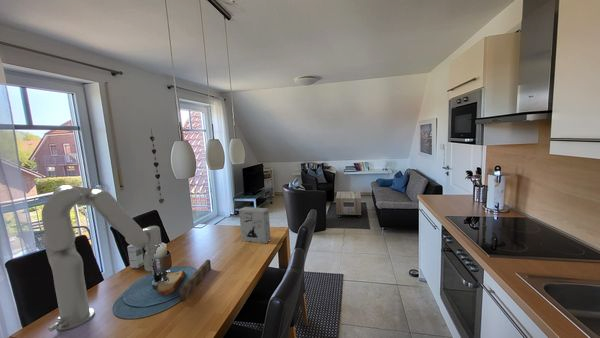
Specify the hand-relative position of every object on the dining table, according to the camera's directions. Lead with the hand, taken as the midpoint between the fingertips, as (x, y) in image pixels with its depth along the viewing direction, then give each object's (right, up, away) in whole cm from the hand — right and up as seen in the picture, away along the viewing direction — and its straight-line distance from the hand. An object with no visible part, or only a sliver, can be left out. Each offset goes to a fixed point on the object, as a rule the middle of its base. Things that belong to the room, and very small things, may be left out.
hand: (158, 280), depth 136 cm
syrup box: (-26, -1, +22) cm, 34 cm away
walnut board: (+22, -1, -2) cm, 22 cm away
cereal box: (+45, +6, +53) cm, 70 cm away
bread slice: (+8, -2, 0) cm, 8 cm away
